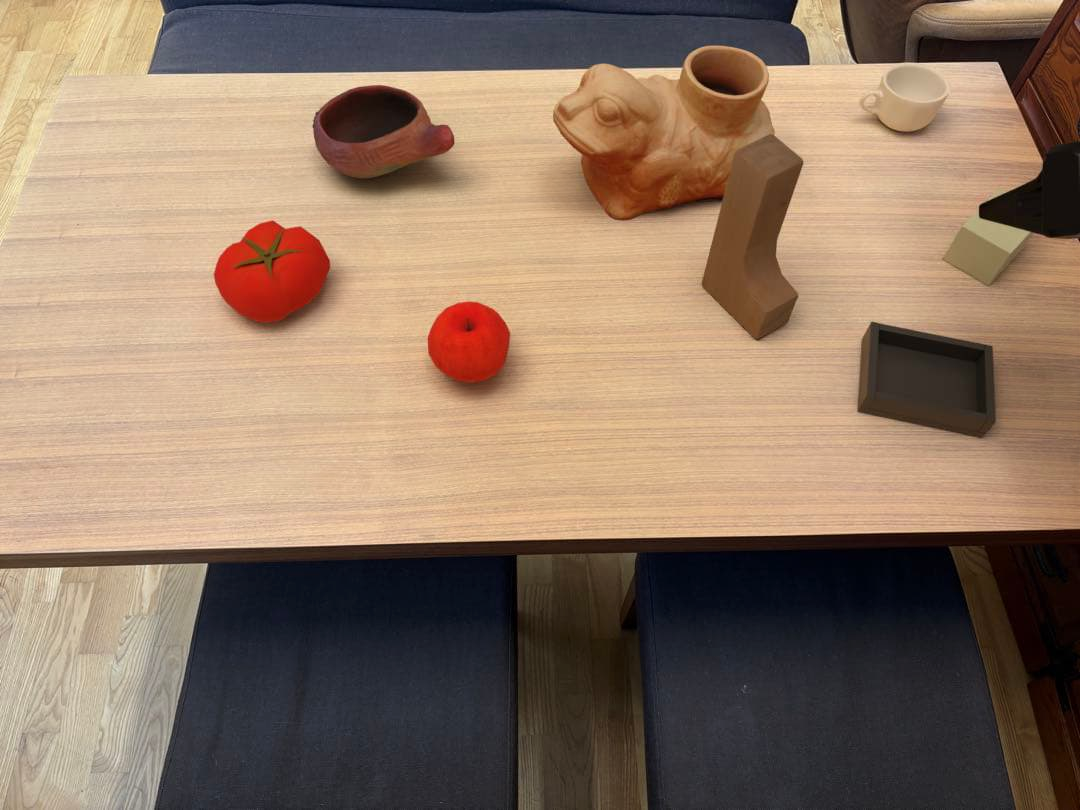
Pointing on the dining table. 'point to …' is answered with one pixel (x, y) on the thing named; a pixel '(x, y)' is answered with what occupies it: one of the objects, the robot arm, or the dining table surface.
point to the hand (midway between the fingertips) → (1011, 214)
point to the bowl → (377, 131)
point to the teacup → (908, 96)
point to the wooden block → (754, 237)
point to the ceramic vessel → (665, 129)
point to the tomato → (271, 271)
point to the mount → (927, 380)
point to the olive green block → (985, 246)
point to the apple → (469, 342)
